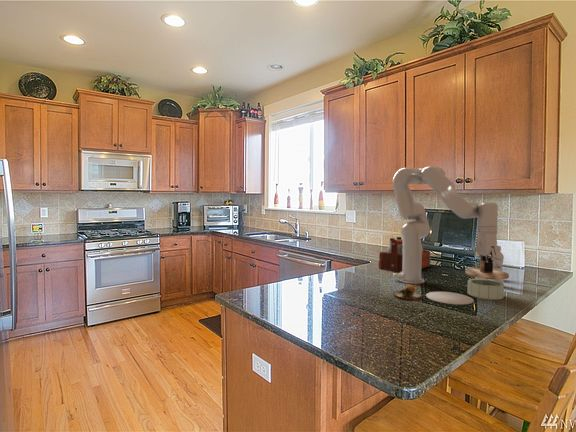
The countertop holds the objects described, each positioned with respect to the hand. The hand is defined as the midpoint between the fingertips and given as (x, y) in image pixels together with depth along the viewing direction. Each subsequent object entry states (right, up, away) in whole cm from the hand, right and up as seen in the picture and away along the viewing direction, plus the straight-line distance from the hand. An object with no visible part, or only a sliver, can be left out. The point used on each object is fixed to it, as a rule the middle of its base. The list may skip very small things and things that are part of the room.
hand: (486, 270), depth 155 cm
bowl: (0, -12, +1) cm, 12 cm away
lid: (0, -2, 0) cm, 2 cm away
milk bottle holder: (-15, -9, +63) cm, 66 cm away
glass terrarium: (-37, -12, -2) cm, 39 cm away
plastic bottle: (+15, -11, +19) cm, 26 cm away
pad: (-19, -12, -4) cm, 22 cm away
